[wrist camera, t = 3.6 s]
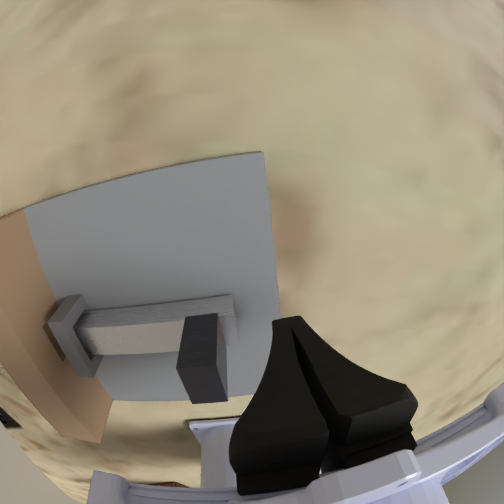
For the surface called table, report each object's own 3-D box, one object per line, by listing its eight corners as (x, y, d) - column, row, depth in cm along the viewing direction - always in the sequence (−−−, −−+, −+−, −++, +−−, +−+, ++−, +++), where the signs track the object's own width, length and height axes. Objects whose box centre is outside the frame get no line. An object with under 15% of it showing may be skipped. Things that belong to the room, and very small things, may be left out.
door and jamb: (259, 150, 14) (282, 158, 8) (283, 374, 20) (297, 438, 14) (2, 216, 13) (-54, 248, 8) (81, 385, 19) (61, 435, 14)
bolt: (231, 291, 15) (234, 362, 10) (238, 326, 16) (244, 399, 11) (74, 309, 14) (36, 366, 10) (89, 339, 15) (59, 398, 10)
